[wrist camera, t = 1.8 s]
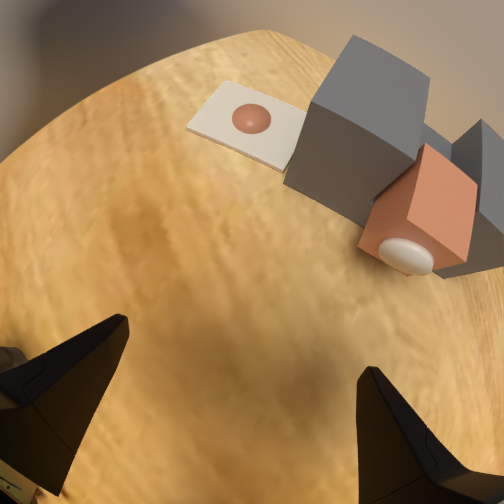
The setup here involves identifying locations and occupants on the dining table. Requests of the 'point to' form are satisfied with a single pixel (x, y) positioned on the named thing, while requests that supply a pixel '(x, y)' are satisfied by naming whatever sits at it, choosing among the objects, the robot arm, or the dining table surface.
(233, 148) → the card
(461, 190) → the push button
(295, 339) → the dining table surface
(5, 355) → the beverage cup
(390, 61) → the button housing
